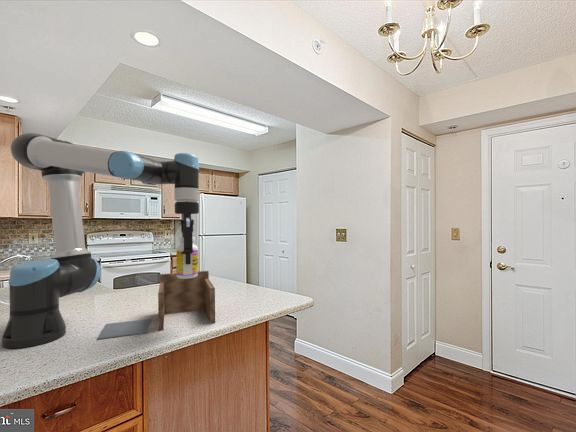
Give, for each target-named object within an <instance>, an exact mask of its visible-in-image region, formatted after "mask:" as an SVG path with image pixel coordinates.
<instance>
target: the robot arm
mask: <svg viewBox="0 0 576 432" xmlns="http://www.w3.org/2000/svg"><path fill="white" fill-rule="evenodd" d="M10 144H11V145H10V153H11V156H12V157H13V159H14V160H15V161H16V162H17V163H18V164H19V165H21V166H23V167H25V168H28V169H31V170H36V171H40V173H41V179H42V180H43V181H44V182H46V184H47V185H48V193H49V203H50V212H51V219H52V220H51V221H52V229H53V230H52V231H53V240H54V248H55V252H54V253H53V255H52V256H50V258H45V259H38V260H31V261H26V262H23V263H19V264H17V265H15V266H12V268H11V269H10V272H9V279H8V285H9V318H8V321H7V323H6V326H5V327H4V330H3V331H4V332H3V334H2V336H1V347H3V348H6V349H21V348H22V349H24V348H28V347H29V348H30V347H35V346H39V345H43V344H46V343H49V342H53V341H56V340H57V339H60V338H62V337H63V336H65V335H66V333H67V332H66V331H67V326H66V323H65V320H64V318H63V316H62V313H61V311H60V298H63V297H66V296H70V295H73V294H77V293H82V292H85V291H86V290H90V289H92V288H93V287H94V286H95V285H96V284H97V283H98V282H99V280H100V277H101V273H102V271H101V269H102V268H101V265H100V263H99V262H98V261H97V259H95V258H93V257H92V252H91V251H90V250H88V249H87V248H86V243H85V235H84V234H85V232H84V226H83V225H84V224H83V217H82V207H81V198H80V197H81V196H80V189H79V182H80V181H81V180H83V174H85V172H86V173H91V174H98V175H103V176H109V177H116V178H119V179H124V180H132V181H138V182H141V183H142V184H143V185H149V186H150V185H151V186H156V185H157V186H158V185H174V195H173V196H174V201H175V203H174V213H175V214H176V215H182V219H180V220H179V221H180V222H179V224H180V226H181V227H180V231H181V235H182V237H181V238H183V237H184V251H183V252H181V254H183V275H190V274H192V252H193V244H192V237H193V233H194V224H195V223H194V221H195V220H194V219H192V215H195V214H196V215H197V214H199V213H200V204H199V202H198V201H199V199H200V198H199V197H200V196H199V195H201V191H199V187H200V186H199V182H200V181H199V179H200V177H199V176H200V174H199V173H200V167H199V166H200V165H199V158H198V155H197V154H193V153H188V152H179V153H176V154H175V155H174V157H173V160H170V161H169V160H168V161H167V160H164V161H161V160H157V159H153V158H149V157H145V156H142V155H139V154H136V153H134V152H132V151H125V150H111V149H106V148H99V147H92V146H86V145H79V144H74V143H72V142H70V141H68V140H61V139H58V138H54V137H51V136H47V135H44V134H40V133H34V132H33V133H32V132H27V133H23V134H20V135H18V136H17V137H15V138H14V139H13V140H12V142H11V143H10Z"/></svg>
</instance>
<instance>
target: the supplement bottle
mask: <svg viewBox="0 0 576 432" xmlns="http://www.w3.org/2000/svg"><path fill="white" fill-rule="evenodd" d="M195 241H196V237H193V236H192V244H193V252H192V274H190V275H183V254H181V252H183V251H184V237H183V238H182V237H179V242H180V245H177V247H176V253H175V254H176V261H175V263H176V264H175V265H176V266H175V267H176V272H175V273H176V275H177V278H181V279H189V278H195V277H197V276H198V271H199V262H198V261H199V248H198V246H197V245H196V244H195Z"/></svg>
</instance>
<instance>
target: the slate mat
mask: <svg viewBox="0 0 576 432" xmlns="http://www.w3.org/2000/svg"><path fill="white" fill-rule="evenodd" d="M151 319H152V318H145V319H144V318H143V319H135V320H127V321H119V322H110V323H105V325H104V326H103V328H102V329H101V332H100V333H99V334H98V336H97V338H96V340H97V341H98V340H99V341H100V340H101V341H102V340H107V339H114V338H122V337H123V338H124V337H129V336H136V335H144V334H149V330H150V326H151Z"/></svg>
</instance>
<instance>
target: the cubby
mask: <svg viewBox="0 0 576 432" xmlns="http://www.w3.org/2000/svg"><path fill="white" fill-rule="evenodd" d="M209 275H210V273H209V270H201V271H199V270H198V276H197V277H195V278H189V279H181V278H177V275H176V272H173V273H172V272H171V273H160V274H159V286H158V287H159V288H158V293H157V299H158V300H157V305H158V306H157V308H158V312H157V313H158V318H157V319H158V320H157V321H158V331H164V329H165V315H168V314H169V315H170V314H176V313H177V314H178V313H185V312H194V311H202V310H203V311H204V310H205V313H206V315H207V317H208V320H209V322H210V324H211V325H212V324H216V288H215V285H213V283H212V282H211V280H210V279H209V278H210V276H209Z"/></svg>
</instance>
